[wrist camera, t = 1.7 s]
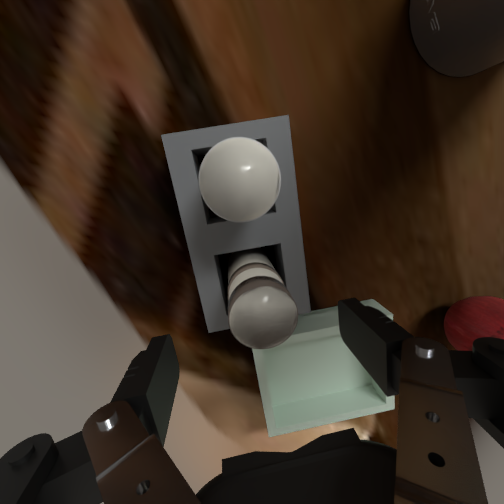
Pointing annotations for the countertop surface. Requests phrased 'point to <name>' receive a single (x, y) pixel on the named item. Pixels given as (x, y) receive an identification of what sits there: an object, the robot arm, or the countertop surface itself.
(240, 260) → the cylinder
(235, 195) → the ball
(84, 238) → the countertop surface
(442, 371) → the robot arm
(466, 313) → the onion
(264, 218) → the block
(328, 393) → the parts tray
